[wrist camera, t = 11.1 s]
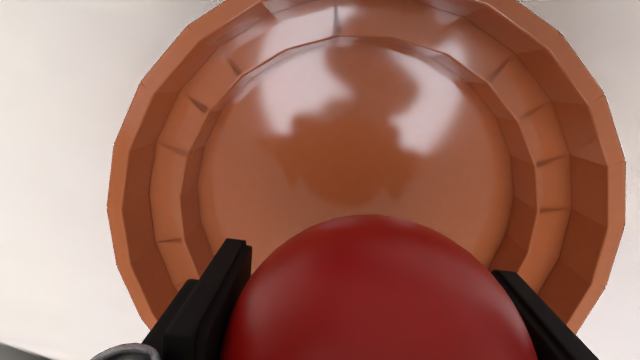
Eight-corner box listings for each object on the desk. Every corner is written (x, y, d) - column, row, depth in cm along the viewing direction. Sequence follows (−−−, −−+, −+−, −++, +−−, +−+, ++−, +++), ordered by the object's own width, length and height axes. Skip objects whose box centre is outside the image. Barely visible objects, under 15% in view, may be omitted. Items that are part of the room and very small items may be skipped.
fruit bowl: (201, -67, 14) (142, -131, 10) (627, 70, 15) (747, 67, 11) (141, 307, 20) (87, 373, 15) (454, 391, 20) (486, 475, 16)
